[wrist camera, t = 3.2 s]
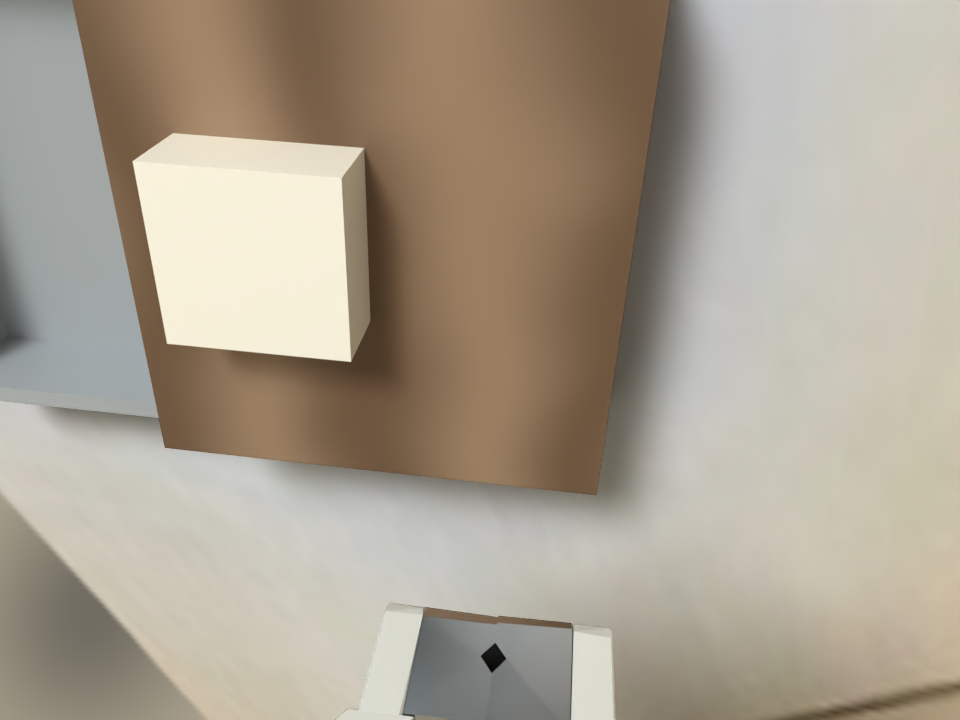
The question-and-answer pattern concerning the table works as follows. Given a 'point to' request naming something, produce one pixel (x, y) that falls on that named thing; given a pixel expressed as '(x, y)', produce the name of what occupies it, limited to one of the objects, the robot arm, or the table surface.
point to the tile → (258, 244)
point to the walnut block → (409, 218)
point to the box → (60, 230)
